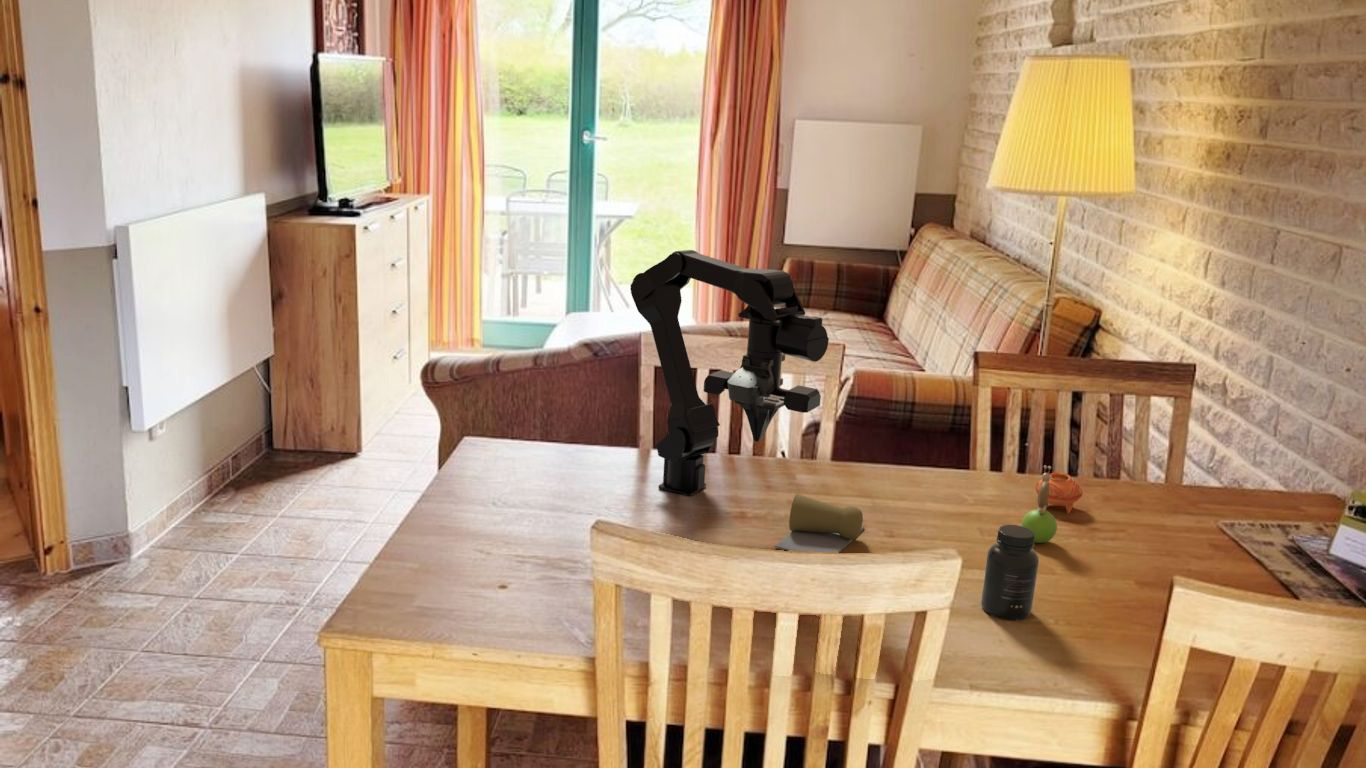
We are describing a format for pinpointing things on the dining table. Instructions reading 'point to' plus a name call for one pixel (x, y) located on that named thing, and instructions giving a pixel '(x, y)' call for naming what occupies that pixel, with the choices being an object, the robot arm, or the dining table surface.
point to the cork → (824, 517)
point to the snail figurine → (1041, 514)
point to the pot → (1062, 490)
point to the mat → (814, 541)
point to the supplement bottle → (1010, 574)
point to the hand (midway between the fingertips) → (757, 440)
